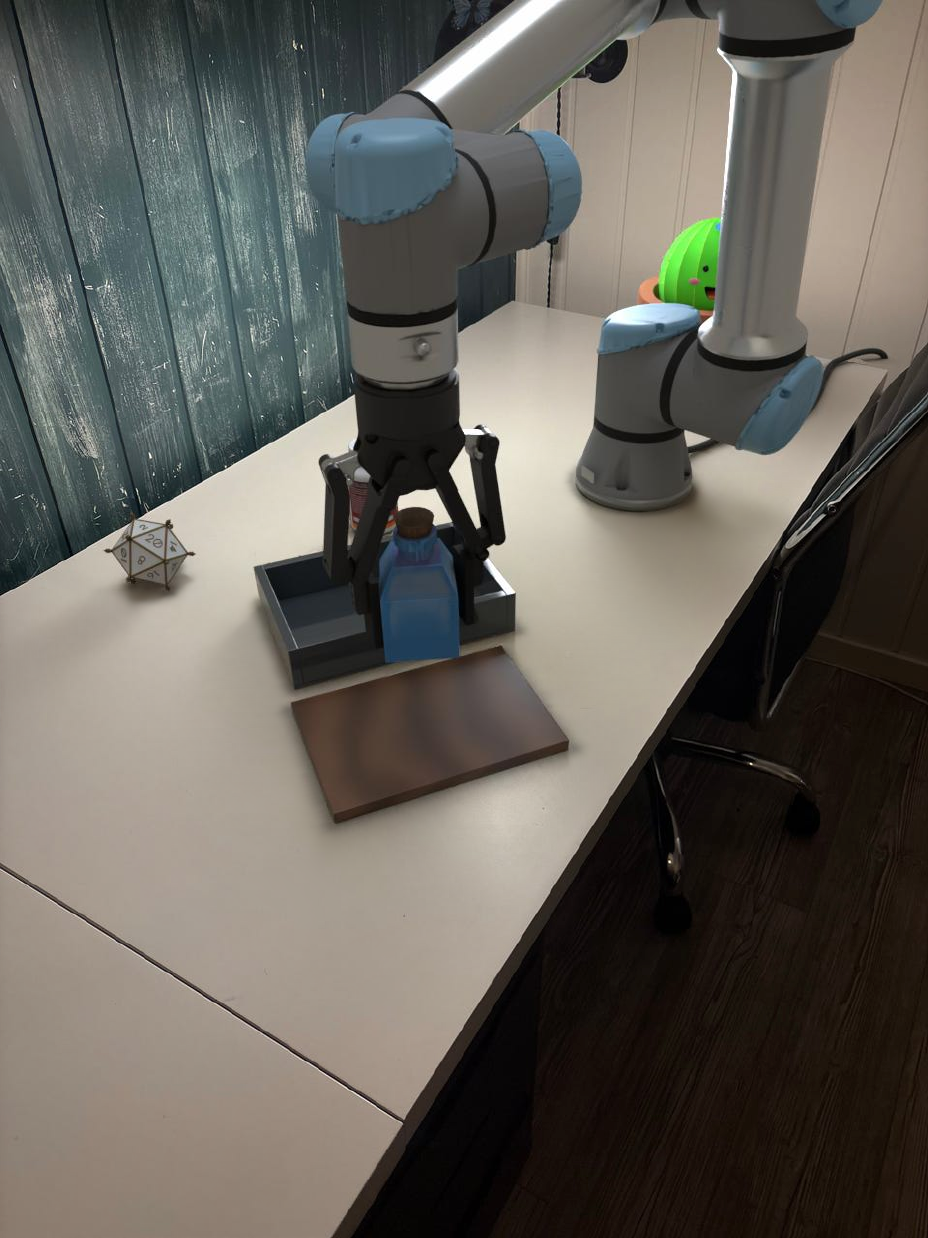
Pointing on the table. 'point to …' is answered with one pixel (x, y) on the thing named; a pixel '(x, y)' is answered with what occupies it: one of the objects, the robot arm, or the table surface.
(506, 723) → the board
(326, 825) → the table surface
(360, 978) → the table surface
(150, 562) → the game die
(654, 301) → the potted cactus
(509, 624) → the tray
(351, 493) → the pill bottle
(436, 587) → the perfume bottle
